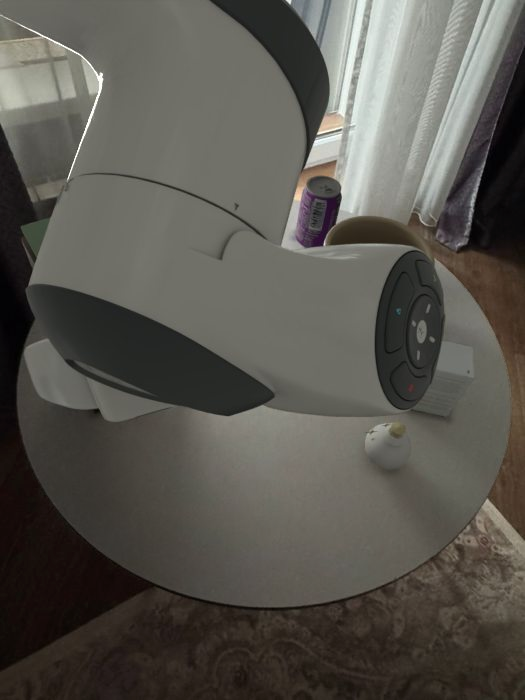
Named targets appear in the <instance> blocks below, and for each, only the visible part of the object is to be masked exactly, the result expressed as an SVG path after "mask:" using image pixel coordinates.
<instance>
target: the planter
mask: <svg viewBox="0 0 525 700" xmlns="http://www.w3.org/2000/svg"><path fill="white" fill-rule="evenodd" d="M374 243H375V244H398V245H406V246H412V247H416V248H418V249H420V250H422V251H423V252H424V253H425V254H426V255H427V256H428V257H429V258H430V260H431V261H432V263H433V265H434V267H435V268H436V259H435V254H434V251H433V249H432V247H431V246H430V244H429V243H428V241H427V240H426V239H425V238H424V237H423V236H422V235H421V233H419V232H418V231H416V230H415V229H414V228H412V227H410V226H408V225H407V224H405V223H402V222H400V221H397V220H395V219H392V218H388V217H383V216H379V215H378V216H377V215H358V216H352V217H349V218H346V219H343V220H341V221H339V222H336V225H334V226H333V227H332V228H331V229H330V230H329V232H328V233H327V235H326V237H325V241H324V244H323V246H330V245H343V244H374Z"/></svg>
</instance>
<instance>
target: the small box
mask: <svg viewBox="0 0 525 700" xmlns="http://www.w3.org/2000/svg"><path fill="white" fill-rule="evenodd" d="M474 362H475V361H474V347H473V346H469V345H465V344H460V343H455V342H450V341H446V340H442V345H441V350H440V355H439V359H438V363H437V367H436V371H435V374H434V377H433V380H432V383H431V385H429V387H428V389H427V391H426V392H425V394H424V396H423V398H422V399H421V400H420V401H419V402H418V403H417V404H416V405H415V406H414V407H413V408H412V409H411V410H414V411H418V412H423V413H427V414H431V415H436V416H440V417H444V418H447V417H448V416H449V415H450V414H451V413H452V411H453V409H454V408H455V407H456V405H457V404H458V403H459V401H460V400H461V399H462V397H463V396H464V395H465V393H466V391H467V390H468V388H469V387H471V384H472V383H473V382H474V380H475V366H474V365H475V364H474Z"/></svg>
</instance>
